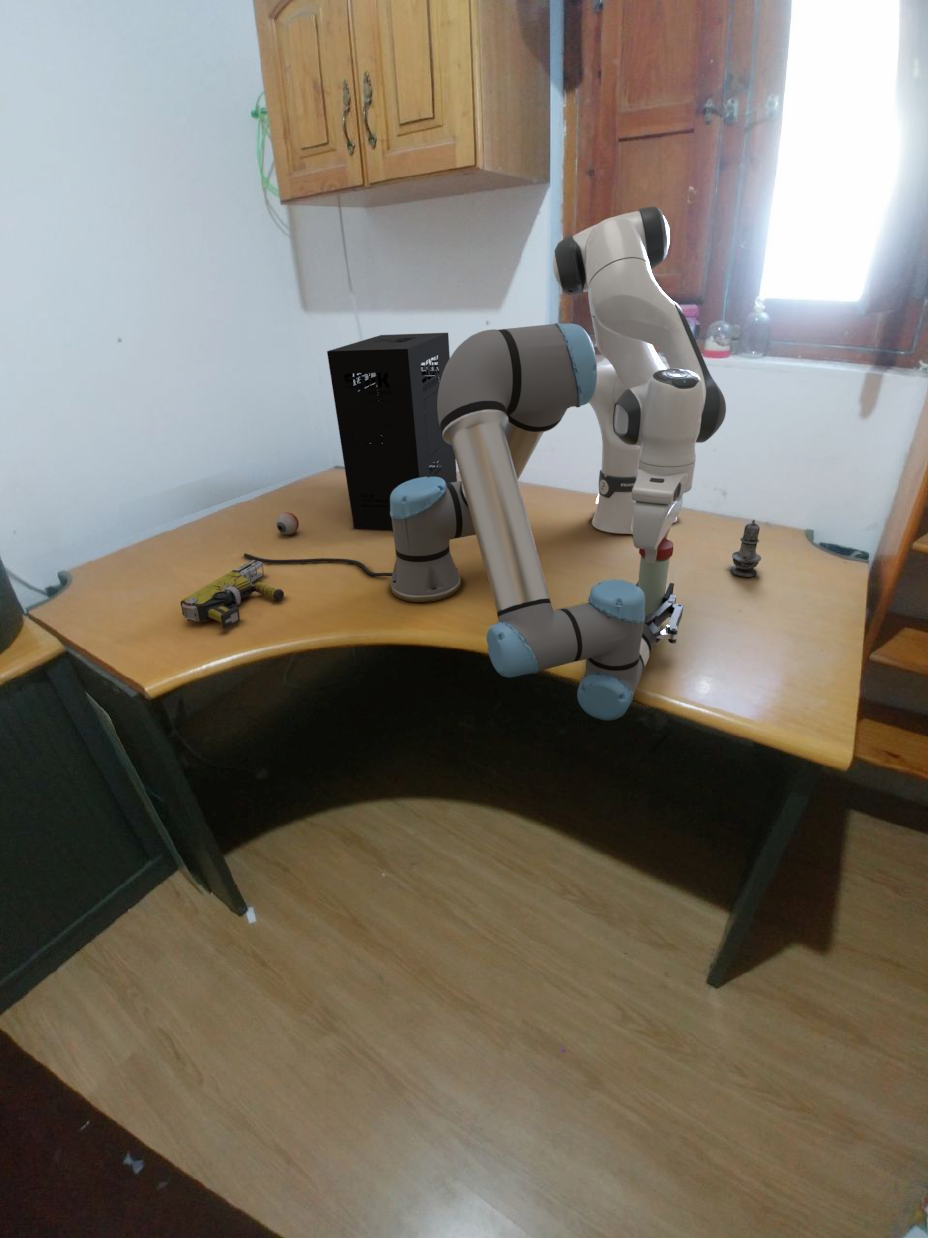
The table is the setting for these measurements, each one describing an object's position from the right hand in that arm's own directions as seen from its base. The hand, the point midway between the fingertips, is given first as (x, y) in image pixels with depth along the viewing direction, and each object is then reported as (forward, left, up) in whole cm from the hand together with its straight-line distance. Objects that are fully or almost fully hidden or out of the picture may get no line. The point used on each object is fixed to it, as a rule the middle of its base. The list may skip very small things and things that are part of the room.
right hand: (655, 554), depth 106 cm
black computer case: (+15, -89, -15) cm, 92 cm away
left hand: (-4, -3, -9) cm, 11 cm away
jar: (0, 0, -15) cm, 15 cm away
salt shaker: (-33, -8, -15) cm, 37 cm away
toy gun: (+67, -50, -15) cm, 85 cm away
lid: (0, 0, +2) cm, 2 cm away
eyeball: (+51, -86, -15) cm, 101 cm away
